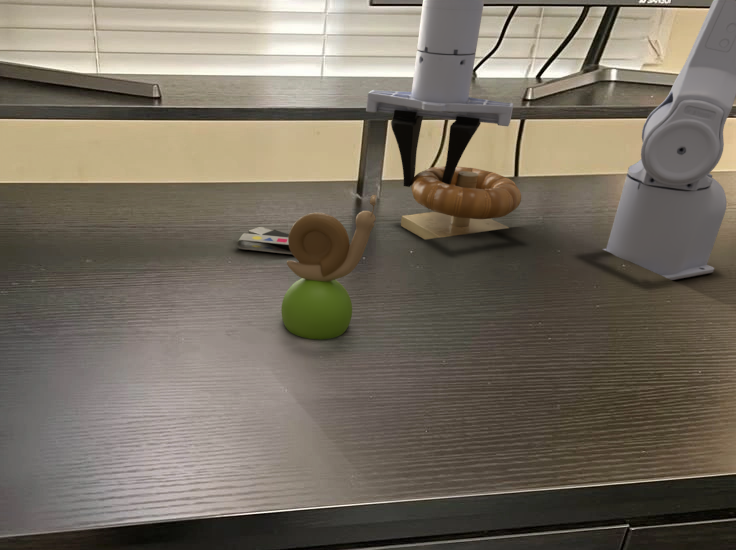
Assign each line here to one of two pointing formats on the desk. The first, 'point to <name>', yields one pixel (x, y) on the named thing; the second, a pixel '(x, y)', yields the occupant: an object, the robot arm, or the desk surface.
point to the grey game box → (265, 241)
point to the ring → (466, 194)
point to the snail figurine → (323, 273)
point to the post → (449, 218)
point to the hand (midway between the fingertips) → (426, 186)
